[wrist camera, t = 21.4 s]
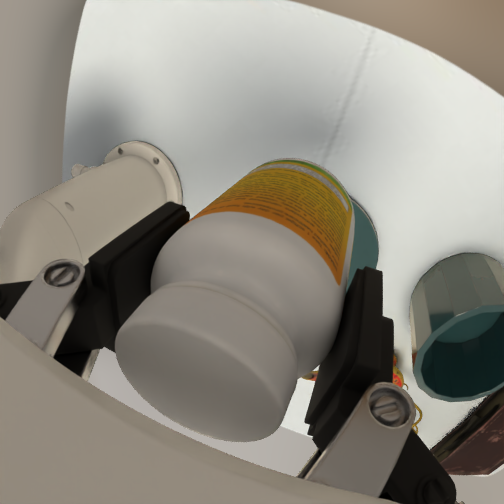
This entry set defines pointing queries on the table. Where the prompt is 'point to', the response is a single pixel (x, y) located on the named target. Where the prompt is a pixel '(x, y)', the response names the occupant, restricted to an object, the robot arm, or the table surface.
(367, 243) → the lid
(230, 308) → the supplement bottle
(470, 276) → the tin
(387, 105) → the table surface
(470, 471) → the diary
